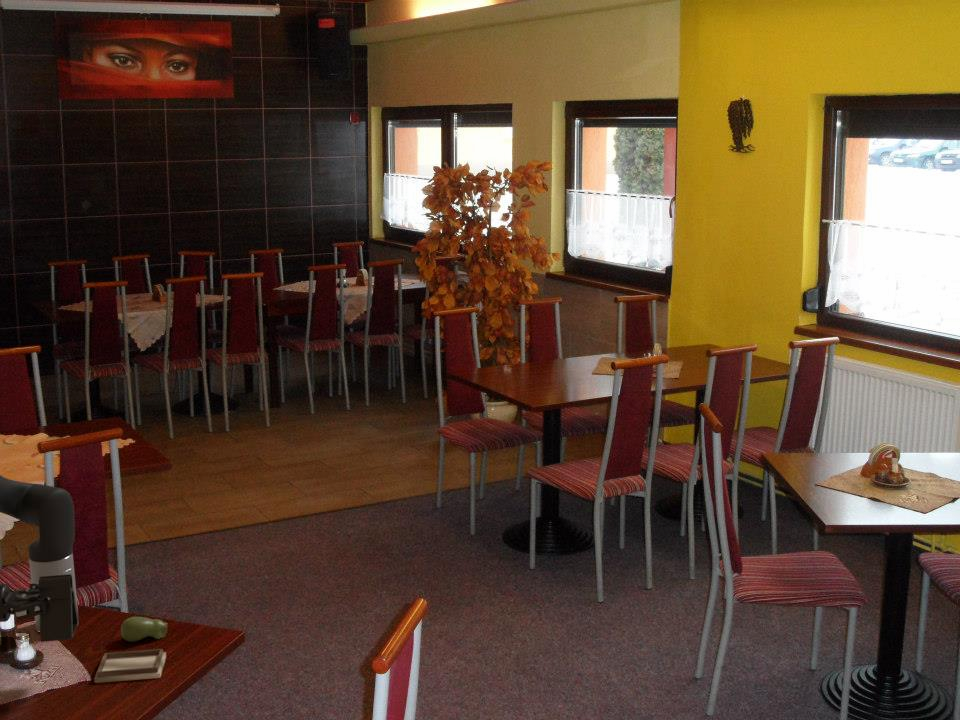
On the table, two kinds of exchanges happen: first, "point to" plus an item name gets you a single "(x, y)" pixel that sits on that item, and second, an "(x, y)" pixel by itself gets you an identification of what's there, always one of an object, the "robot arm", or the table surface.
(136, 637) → the pear
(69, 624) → the phone stand
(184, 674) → the table surface
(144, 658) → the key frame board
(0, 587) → the robot arm
